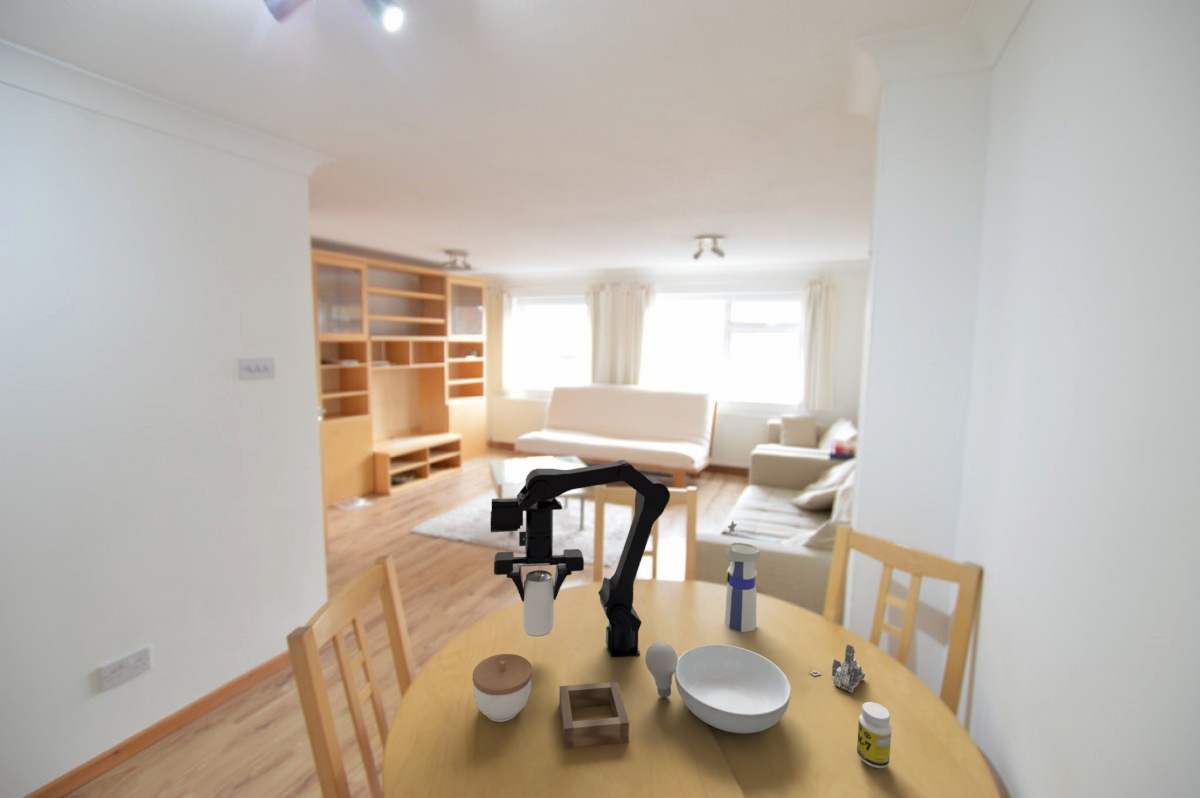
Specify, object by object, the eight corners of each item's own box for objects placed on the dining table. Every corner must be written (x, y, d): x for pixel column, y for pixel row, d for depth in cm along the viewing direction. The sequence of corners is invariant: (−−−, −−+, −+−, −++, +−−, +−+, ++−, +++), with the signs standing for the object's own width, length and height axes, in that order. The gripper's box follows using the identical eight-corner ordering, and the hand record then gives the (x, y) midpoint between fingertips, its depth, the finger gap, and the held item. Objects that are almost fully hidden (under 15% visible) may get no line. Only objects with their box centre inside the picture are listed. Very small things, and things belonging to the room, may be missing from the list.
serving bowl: (789, 768, 81) (791, 728, 81) (662, 732, 89) (663, 695, 88) (789, 689, 101) (790, 656, 100) (684, 665, 108) (685, 634, 107)
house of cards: (826, 656, 113) (828, 623, 112) (868, 675, 106) (870, 640, 106) (808, 673, 106) (810, 638, 106) (851, 694, 100) (854, 657, 100)
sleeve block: (616, 698, 97) (617, 681, 97) (628, 742, 86) (629, 722, 86) (559, 703, 95) (559, 686, 95) (564, 748, 84) (564, 728, 84)
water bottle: (716, 625, 124) (720, 526, 122) (729, 611, 131) (733, 517, 129) (750, 636, 119) (754, 533, 117) (761, 621, 126) (765, 524, 124)
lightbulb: (683, 687, 99) (678, 636, 98) (677, 710, 94) (672, 657, 92) (653, 682, 102) (648, 633, 100) (645, 705, 96) (640, 653, 94)
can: (555, 622, 112) (556, 570, 111) (550, 638, 106) (550, 583, 105) (527, 620, 113) (527, 568, 112) (520, 636, 107) (520, 581, 106)
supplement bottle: (850, 747, 86) (853, 700, 85) (877, 745, 86) (880, 699, 86) (867, 770, 81) (871, 720, 80) (895, 768, 82) (899, 719, 81)
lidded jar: (532, 728, 89) (533, 677, 88) (470, 734, 87) (469, 683, 86) (531, 688, 99) (531, 643, 99) (475, 693, 98) (474, 647, 97)
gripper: (578, 516, 117) (577, 581, 118) (496, 518, 114) (496, 585, 115) (584, 532, 106) (583, 604, 107) (493, 536, 103) (493, 609, 104)
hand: (538, 599), depth 109 cm, fingers closed on can, 6 cm apart
